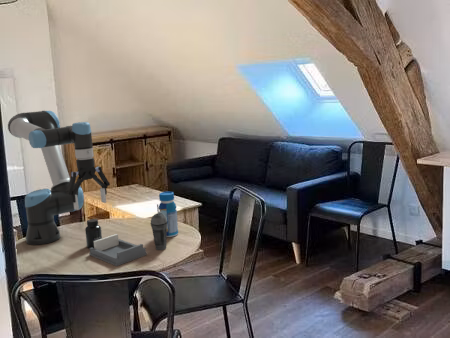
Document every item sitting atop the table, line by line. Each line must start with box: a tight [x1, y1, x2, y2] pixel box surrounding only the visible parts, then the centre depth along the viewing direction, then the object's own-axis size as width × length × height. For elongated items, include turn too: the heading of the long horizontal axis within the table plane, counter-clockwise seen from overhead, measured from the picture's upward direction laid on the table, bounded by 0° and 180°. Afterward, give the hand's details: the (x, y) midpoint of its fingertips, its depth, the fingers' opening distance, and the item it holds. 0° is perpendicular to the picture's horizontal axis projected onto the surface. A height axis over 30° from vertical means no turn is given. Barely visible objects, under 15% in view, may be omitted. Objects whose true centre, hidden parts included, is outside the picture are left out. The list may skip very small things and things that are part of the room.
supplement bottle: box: [84, 218, 103, 249], centre depth 216 cm, size 7×7×12 cm
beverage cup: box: [150, 203, 168, 251], centre depth 208 cm, size 7×7×20 cm
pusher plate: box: [94, 233, 120, 251], centre depth 210 cm, size 1×11×5 cm, turn 136°
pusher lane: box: [89, 238, 147, 267], centre depth 204 cm, size 20×15×5 cm
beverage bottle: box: [158, 191, 179, 238], centre depth 225 cm, size 8×8×20 cm
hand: (90, 205), depth 214 cm, fingers open, 13 cm apart
